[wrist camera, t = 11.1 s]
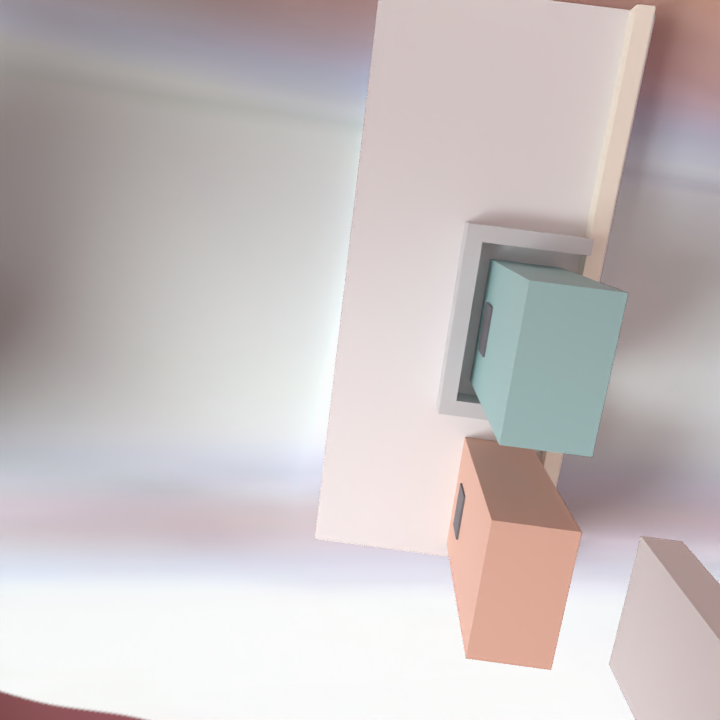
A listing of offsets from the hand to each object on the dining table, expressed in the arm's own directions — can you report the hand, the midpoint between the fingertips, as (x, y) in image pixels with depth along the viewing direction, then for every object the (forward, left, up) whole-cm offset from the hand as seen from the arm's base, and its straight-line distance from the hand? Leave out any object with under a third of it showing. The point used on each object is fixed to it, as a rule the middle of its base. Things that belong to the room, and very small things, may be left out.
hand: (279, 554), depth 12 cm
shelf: (+7, +1, -33) cm, 33 cm away
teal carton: (+10, 0, -31) cm, 33 cm away
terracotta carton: (+11, -12, -31) cm, 35 cm away
